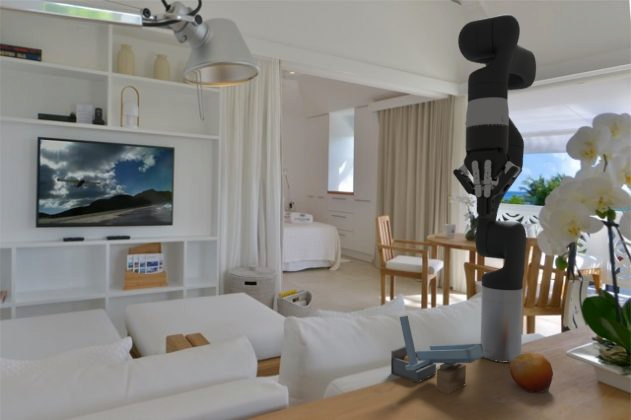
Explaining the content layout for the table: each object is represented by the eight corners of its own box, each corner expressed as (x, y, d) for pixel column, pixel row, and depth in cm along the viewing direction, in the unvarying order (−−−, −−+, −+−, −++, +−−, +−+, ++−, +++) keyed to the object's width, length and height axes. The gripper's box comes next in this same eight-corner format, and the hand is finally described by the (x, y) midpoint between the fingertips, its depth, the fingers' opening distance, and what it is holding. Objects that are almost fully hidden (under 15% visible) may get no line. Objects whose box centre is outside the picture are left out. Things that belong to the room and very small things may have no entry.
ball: (418, 372, 97) (406, 362, 99) (424, 359, 96) (412, 349, 98) (409, 376, 95) (397, 366, 97) (415, 363, 94) (403, 353, 96)
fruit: (569, 391, 84) (546, 354, 85) (531, 408, 86) (509, 372, 86) (555, 375, 92) (534, 341, 93) (520, 391, 94) (500, 358, 94)
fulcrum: (454, 380, 93) (454, 354, 93) (465, 383, 91) (466, 357, 91) (436, 389, 88) (436, 362, 88) (447, 394, 86) (448, 366, 86)
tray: (410, 365, 101) (410, 343, 101) (435, 373, 96) (436, 351, 96) (391, 373, 96) (391, 350, 96) (417, 382, 91) (417, 359, 91)
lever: (433, 356, 96) (423, 309, 97) (484, 355, 87) (472, 303, 89) (402, 370, 88) (392, 318, 90) (455, 370, 79) (442, 313, 81)
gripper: (531, 124, 80) (529, 218, 81) (464, 131, 90) (462, 216, 90) (514, 118, 75) (512, 219, 75) (444, 127, 85) (443, 216, 85)
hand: (485, 217), depth 83 cm, fingers closed
